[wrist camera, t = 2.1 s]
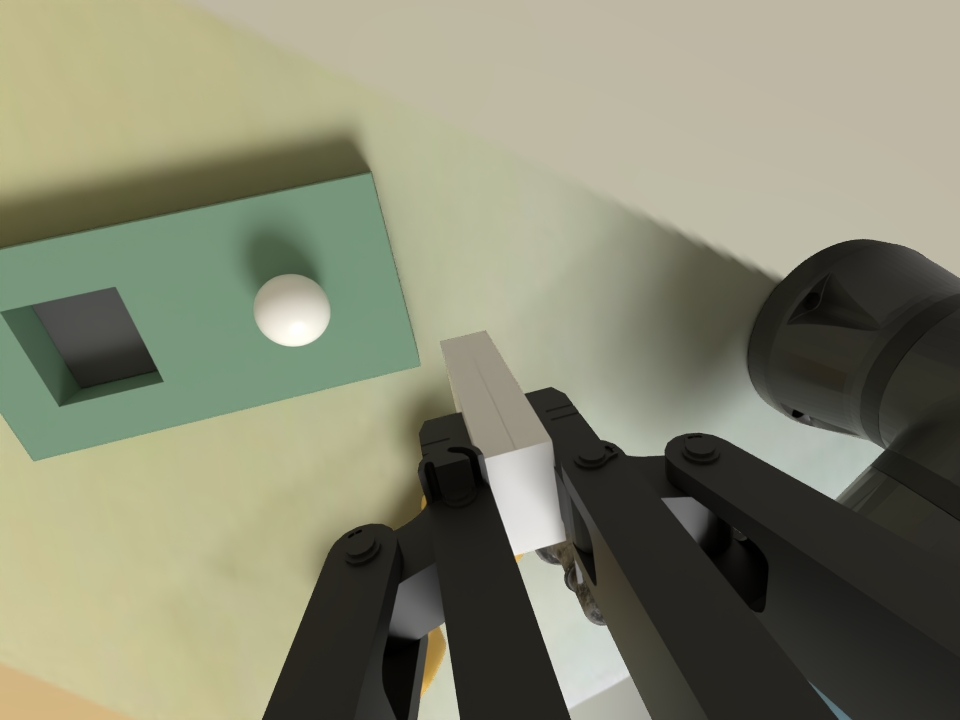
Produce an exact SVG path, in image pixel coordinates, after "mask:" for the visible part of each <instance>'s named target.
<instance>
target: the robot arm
mask: <svg viewBox="0 0 960 720" xmlns="http://www.w3.org/2000/svg"><path fill="white" fill-rule="evenodd" d="M440 343H441V348H442V352H443V356H444V360H445V365H446V369H447V373H448V377H449V382H450V386H451V390H452V394H453V399H454V403H455V407H456V411H457V413H455V414H451V415H447V416H443V417H439V418H436V419H432V420H428V421H425V422H424V424H423V426H422V428H421V430H420V432H419V437H420V443H421V450H422V456H423V460H422V461H421V462H420V463H419V468H418V475H419V478H420V481H421V485H422V488H423V492H424V495H425V499H426V502H427V503H426V506H425V507H424V509H423V510H422V512H421V513H420V514H419V515H418V516H417V517H416V518H415V519H414V520H412V521H411V522H409V523H408V524H406V525H404V526H403V527H401V528H399V529H397V530H395V531H393V530H392V528H390V527H387V526H385V525H383V524H367V525H363V526H359V527H357V528H355V529H353V530H351V531H349V532H347V533H345V534H344V535H343V536H342V537H341V538H340V539H339V540H337V541H336V542H335V544H334V545H333V547H332V548H331V550H330V552H329V553H328V556H327V558H326V561H325V563H324V566H323V568H322V571H321V573H320V576H319V578H318V581H317V583H316V586H315V588H314V591H313V593H312V596H311V598H310V601H309V603H308V606H307V608H306V611H305V613H304V616H303V618H302V621H301V623H300V626H299V628H298V631H297V633H296V636H295V638H294V641H293V643H292V646H291V648H290V651H289V653H288V656H287V658H286V661H285V663H284V666H283V668H282V671H281V673H280V676H279V678H278V681H277V683H276V686H275V688H274V691H273V693H272V696H271V698H270V701H269V703H268V706H267V708H266V711H265V713H264V716H263V718H262V720H417V718H418V711H419V703H420V696H421V689H422V682H423V675H424V668H425V661H426V654H427V647H428V633H429V632H430V631H432V630H433V629H435V628H436V627H438V626H440V625H441V624H443V623H444V622H445V624H446V630H447V637H448V643H449V650H450V657H451V663H452V670H453V676H454V683H455V689H456V696H457V702H458V709H459V715H460V720H571V718H570V715H569V712H568V710H567V707H566V704H565V701H564V698H563V695H562V692H561V689H560V686H559V684H558V681H557V678H556V675H555V672H554V669H553V666H552V663H551V660H550V657H549V655H548V652H547V649H546V646H545V643H544V640H543V637H542V634H541V631H540V629H539V626H538V623H537V620H536V617H535V614H534V611H533V608H532V605H531V602H530V600H529V597H528V594H527V591H526V588H525V585H524V582H523V579H522V576H521V574H520V571H519V568H518V565H517V562H516V559H515V556H516V555H519V554H522V553H526V552H529V551H533V550H536V549H539V548H543V547H546V546H550V545H553V544H556V543H560V542H563V541H566V535H565V528H564V525H565V527H566V529H567V531H568V533H569V535H570V537H571V540H572V547H573V554H574V561H575V569H576V576H577V581H578V584H580V583H583V578H582V575H583V577H584V579H585V581H586V583H587V585H588V587H589V589H590V592H591V594H592V596H593V598H594V600H595V602H596V604H597V606H598V608H599V610H600V612H601V614H602V617H603V619H604V621H605V623H606V625H607V627H608V629H609V631H610V633H611V635H612V637H613V639H614V641H615V644H616V646H617V648H618V650H619V652H620V654H621V656H622V658H623V660H624V662H625V664H626V666H627V669H628V671H629V673H630V675H631V677H632V679H633V681H634V683H635V685H636V687H637V689H638V691H639V694H640V696H641V698H642V700H643V702H644V704H645V706H646V708H647V710H648V712H649V714H650V716H651V719H652V720H960V278H958V277H957V276H955V275H954V274H952V273H950V272H949V271H947V270H946V269H944V268H942V267H941V266H939V265H938V264H936V263H934V262H932V261H931V260H929V259H927V258H926V257H925V256H923V255H922V254H920V253H919V252H917V251H915V250H912V249H910V248H907V247H905V246H901V245H897V244H891V243H886V242H881V241H876V240H868V239H867V240H866V239H860V240H850V241H845V242H842V243H838V244H836V245H833V246H830V247H828V248H826V249H823V250H821V251H820V252H818V253H816V254H814V255H813V256H811V257H810V258H808V259H807V260H805V261H804V262H802V263H801V264H800V265H799V266H798V267H796V268H795V269H794V270H793V271H792V272H791V273H790V274H789V275H788V276H787V277H786V278H785V279H784V280H783V281H782V282H781V283H780V284H779V285H778V287H777V288H776V289H775V290H774V292H773V293H772V294H771V296H770V297H769V299H768V300H767V302H766V304H765V305H764V307H763V309H762V311H761V313H760V315H759V317H758V319H757V322H756V324H755V327H754V330H753V333H752V337H751V341H750V347H749V371H750V376H751V380H752V383H753V385H754V387H755V389H756V391H757V393H758V394H759V395H760V397H761V398H762V399H763V400H764V401H765V402H766V403H767V404H769V405H770V406H772V407H773V408H775V409H776V410H778V411H779V412H781V413H782V414H784V415H785V416H787V417H789V418H790V419H792V420H795V421H797V422H799V423H802V424H805V425H809V426H813V427H817V428H821V429H825V430H829V431H833V432H837V433H841V434H845V435H849V436H853V437H857V438H861V439H865V440H869V441H871V442H873V443H875V444H877V445H878V446H880V447H882V448H883V449H885V451H884V452H883V453H882V454H881V455H880V456H879V457H878V458H877V459H876V460H875V461H874V462H873V463H872V464H871V465H870V466H868V467H867V468H866V469H865V470H864V471H863V472H862V473H861V474H860V475H859V476H858V477H857V478H856V479H855V480H854V481H853V482H852V483H851V484H850V485H849V486H848V487H847V488H846V489H845V490H844V491H843V492H842V493H841V494H840V495H839V496H838V497H837V498H836V499H835V500H833V499H831V498H829V497H828V496H826V495H824V494H822V493H820V492H819V491H817V490H815V489H813V488H811V487H809V486H808V485H806V484H804V483H802V482H800V481H799V480H797V479H795V478H793V477H791V476H790V475H788V474H786V473H784V472H782V471H780V470H779V469H777V468H775V467H773V466H771V465H770V464H768V463H766V462H764V461H762V460H761V459H759V458H757V457H755V456H753V455H751V454H750V453H748V452H746V451H744V450H742V449H741V448H739V447H737V446H735V445H733V444H732V443H730V442H728V441H726V440H724V439H722V438H719V437H716V436H714V435H709V434H703V433H690V434H684V435H681V436H677V437H675V438H673V439H672V440H671V441H669V442H668V443H667V446H666V448H665V456H647V457H636V456H627V455H626V454H625V453H624V452H623V450H621V449H620V448H619V447H618V446H616V445H615V444H613V443H610V442H607V441H604V440H600V439H599V438H598V436H597V435H596V434H595V432H594V431H593V430H592V428H591V427H590V426H589V424H588V423H587V422H586V421H585V419H584V418H583V417H582V415H581V414H579V411H578V410H577V409H576V407H575V406H573V404H572V402H571V401H570V400H569V398H568V397H567V396H566V394H565V393H562V392H560V391H558V390H556V389H554V388H552V387H549V388H546V389H542V390H538V391H534V392H530V393H526V394H524V393H523V391H522V390H521V388H520V386H519V385H518V383H517V381H516V380H515V378H514V377H513V375H512V373H511V372H510V370H509V368H508V367H507V365H506V363H505V362H504V360H503V358H502V357H501V355H500V353H499V352H498V350H497V348H496V347H495V345H494V343H493V342H492V340H491V338H490V337H489V335H488V333H487V332H486V330H485V331H481V332H477V333H473V334H469V335H465V336H461V337H457V338H452V339H448V340H444V341H440ZM734 528H735V529H734ZM737 530H738V531H737ZM740 532H741V533H740Z"/></svg>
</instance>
